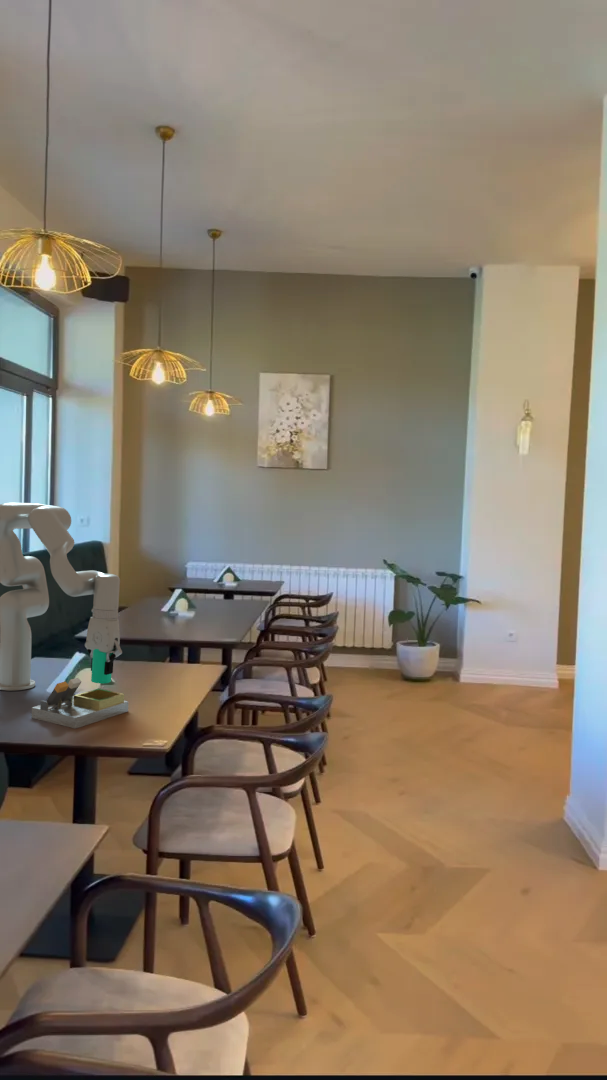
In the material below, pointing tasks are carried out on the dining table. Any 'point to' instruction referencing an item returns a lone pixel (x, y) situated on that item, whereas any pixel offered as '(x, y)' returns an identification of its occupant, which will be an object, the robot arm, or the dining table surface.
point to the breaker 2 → (70, 690)
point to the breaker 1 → (57, 693)
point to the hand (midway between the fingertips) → (101, 671)
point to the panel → (82, 708)
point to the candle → (99, 668)
